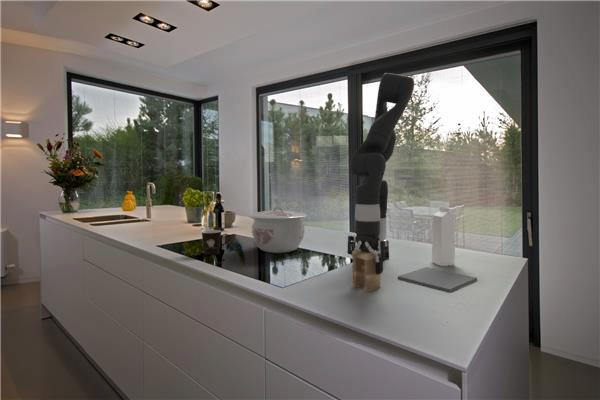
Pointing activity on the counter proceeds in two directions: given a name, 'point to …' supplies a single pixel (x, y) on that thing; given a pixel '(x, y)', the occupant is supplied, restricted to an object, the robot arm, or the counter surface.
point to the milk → (443, 238)
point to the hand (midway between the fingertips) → (367, 271)
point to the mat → (438, 279)
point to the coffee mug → (212, 241)
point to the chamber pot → (278, 230)
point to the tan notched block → (365, 271)
